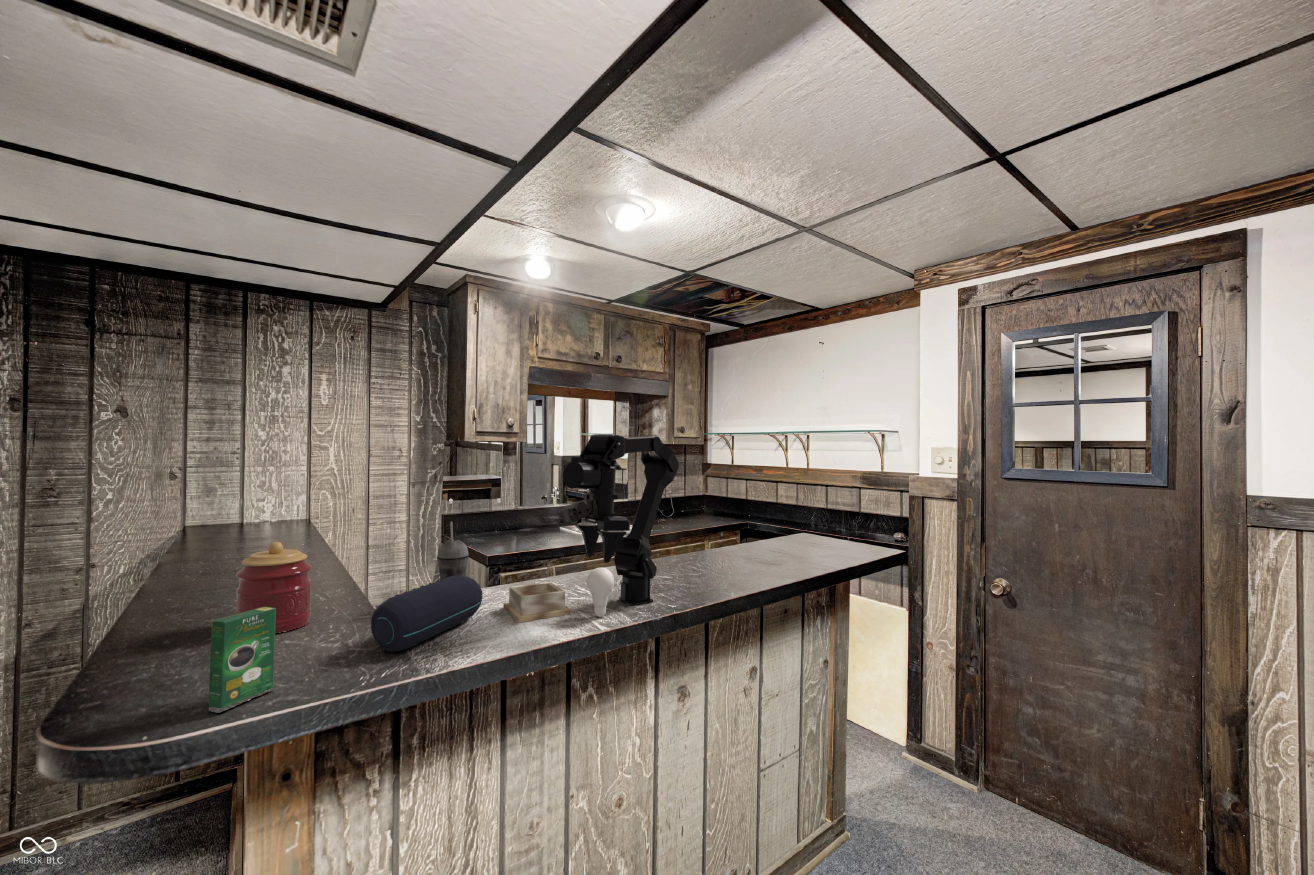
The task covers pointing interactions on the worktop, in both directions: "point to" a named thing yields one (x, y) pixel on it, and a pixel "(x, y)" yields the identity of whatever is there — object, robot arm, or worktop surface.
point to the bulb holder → (536, 602)
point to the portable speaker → (424, 612)
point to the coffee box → (241, 656)
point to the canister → (276, 585)
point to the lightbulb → (600, 588)
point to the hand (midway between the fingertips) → (597, 559)
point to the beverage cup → (452, 557)
